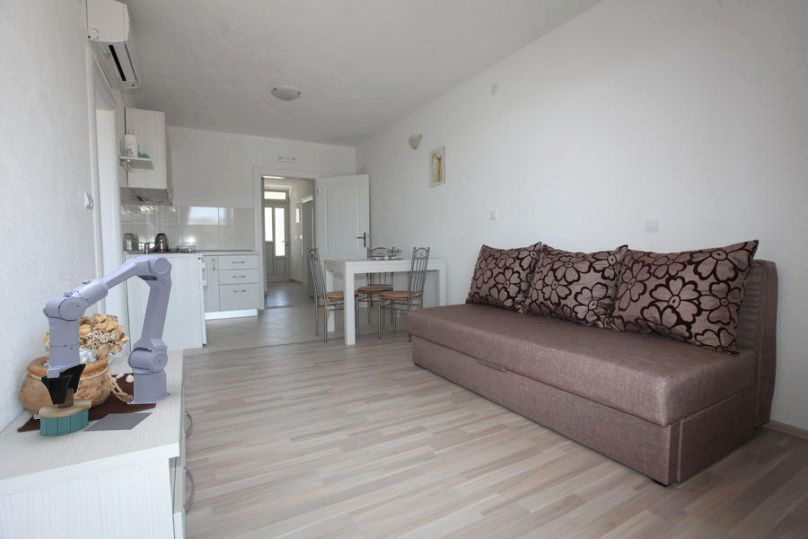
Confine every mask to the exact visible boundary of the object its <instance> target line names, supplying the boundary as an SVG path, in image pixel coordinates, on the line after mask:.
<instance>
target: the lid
mask: <svg viewBox="0 0 808 539" xmlns="http://www.w3.org/2000/svg"><path fill="white" fill-rule="evenodd" d="M91 407H92V400H91V399H86V398H82V399H74V389H73V388H67V395H66V400H65V403H64V404H56V405H53V404H49V405H47V406H44V407H42V408H41V409H40V410H39V416H40V417H43V418H57V417H64V416H69V415H74V414H77V413H80V412H83V411H85V410H87V409H88V410H89V409H90V408H91Z"/></svg>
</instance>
